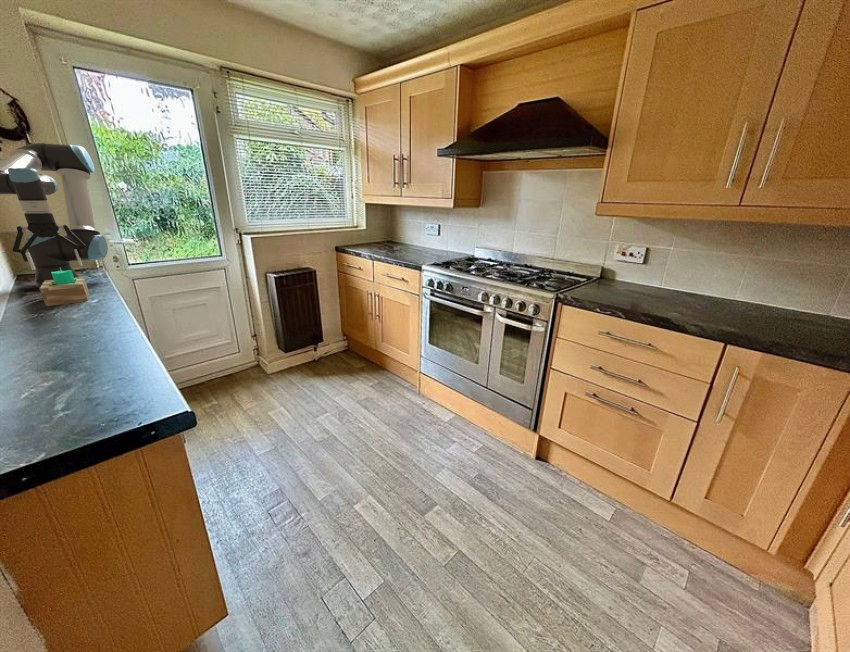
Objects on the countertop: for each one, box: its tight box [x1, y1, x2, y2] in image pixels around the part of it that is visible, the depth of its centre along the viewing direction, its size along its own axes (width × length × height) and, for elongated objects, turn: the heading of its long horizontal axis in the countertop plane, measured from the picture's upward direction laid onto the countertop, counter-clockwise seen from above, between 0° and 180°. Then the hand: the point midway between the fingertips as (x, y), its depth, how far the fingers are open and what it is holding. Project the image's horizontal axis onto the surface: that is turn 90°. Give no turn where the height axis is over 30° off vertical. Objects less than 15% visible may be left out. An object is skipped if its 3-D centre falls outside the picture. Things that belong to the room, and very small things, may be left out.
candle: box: [51, 268, 75, 285], centre depth 143 cm, size 6×6×12 cm
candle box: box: [39, 276, 90, 307], centre depth 144 cm, size 16×12×7 cm
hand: (58, 267), depth 140 cm, fingers open, 13 cm apart
